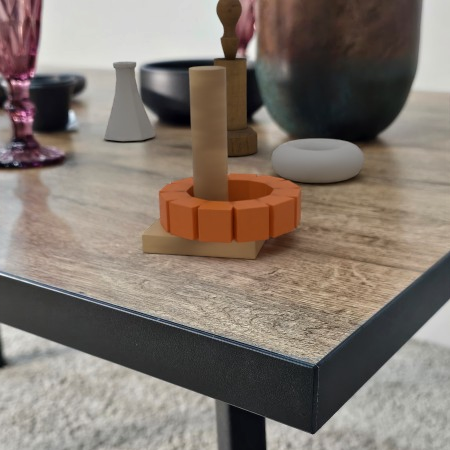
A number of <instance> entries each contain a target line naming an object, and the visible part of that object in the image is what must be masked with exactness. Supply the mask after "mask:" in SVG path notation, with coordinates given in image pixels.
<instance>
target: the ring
mask: <svg viewBox="0 0 450 450" xmlns="http://www.w3.org/2000/svg"><path fill="white" fill-rule="evenodd" d="M158 205H159V206H158V207H159V218H160V224H161V225H162V226H163V227H164V229H165V230H166V231H167V232H171V234H172V235H175V236H179V237H182V238H186V239H189V240H196V239H199V241H202V242H221V243H231V242H232V241H233V239H234V240H235V241H236V242H237V243H242V242H250V241H258V240H266V241H267V240H269V239H270V238H273V239H274V238H277V237H280V236H283V235H285V234H288V233H290V232H293V231H294V230H295V229H297V228H298V227H299V224H300V222H301V219H302V188H301V187H300V186H299V185H298V184H296V183H294V181H292V180H288V179H285V178H283V177H277V176H272V175H267V174H261V175H258V174H257V173H236V172H235V173H233V172H232V173H231V172H230V173H228V202H225V201H208V200H203V199H199V198H195V197H194V192H193V176H190V177H187V178H182V179H179V180H175V181H171V182H170V183H167V184H165V185H164V186H163V187H162V188H161V189H160V190H159V191H158Z"/></svg>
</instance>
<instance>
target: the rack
mask: <svg viewBox="0 0 450 450" xmlns="http://www.w3.org/2000/svg"><path fill="white" fill-rule="evenodd" d="M188 79H189V82H188V83H189V84H188V85H189V107H190V108H189V109H190V132H191V136H190V137H191V161H192V162H191V163H192V177H193V192H194V197H195V198H199V199H203V200H208V201H225V202H228V175H229V164H228V163H229V162H228V157H229V156H228V153H227V98H226V67H222V66H214V65H201V66H192V67H188ZM266 241H267V240H258V241H250V242H242V243H237V242H236V241H235V240H234V239H233V241H232V242H231V243H221V242H202V241H199V239H196V240H189V239H186V238H182V237H179V236H175V235H172V234H171V232H167V231H166V230H165V229H164V227H163V226H162V225H161V224H160V217H159V218H158V219H157V220H155V222H154V223H152V225H151V226H150V227H148V228H147V229H146V230H145V231H144V232H143V233H142V234H141V242H142V245H141V246H142V253H144V254H145V253H146V254H148V253H149V254H163V255H178V256H180V255H181V256H194V257H210V258H212V257H213V258H228V259H244V260H246V259H247V260H256V259H257V257H258V255H259V253H260V251H261V250H262V248H263V246H264V244H265V243H266Z"/></svg>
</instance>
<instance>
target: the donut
mask: <svg viewBox="0 0 450 450" xmlns="http://www.w3.org/2000/svg"><path fill="white" fill-rule="evenodd" d="M270 161H271V167H272V169H273V171H274V172H275V173H276V174H277V175H278V176H280V178H283V179H285V180H289V181H291V182H298V183H305V184H307V183H308V184H329V183H338V182H343V181H347V180H349V179H352V178H353V177H356V176H357V175H358V174H359V173H360V172H361V170H362V168H363V167H364V164H365V156H364V153H363V151H362V150H361V148H359V146H358V145H357V144H354V143H352V142H350V141H346V140H341V139H335V138H301V139H294V140H289V141H286V142H282V143H281V144H280V145H278V146H277V147H276V148H275V149H274V150H273V152H272V154H271V157H270Z"/></svg>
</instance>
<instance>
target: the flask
mask: <svg viewBox="0 0 450 450" xmlns="http://www.w3.org/2000/svg"><path fill="white" fill-rule="evenodd" d="M112 66H113V69H114V70H115V89H114V96H113V101H112V105H111V109H110V114H109V118H108V122H107V125H106V130H105V134H104V137H103V140H108V141H109V140H110V141H116V142H117V141H118V142H133V141H144V140H147V139H151V138H154V137H155V131H154V128H153V125H152V122H151V120H150V118H149V116H148V113H147V111H146V108H145V105H144V103H143V100H142V97H141V95H140V92H139V88H138V84H137V80H136V70H135V69H136V67H137V61H116V62H113V63H112Z"/></svg>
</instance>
